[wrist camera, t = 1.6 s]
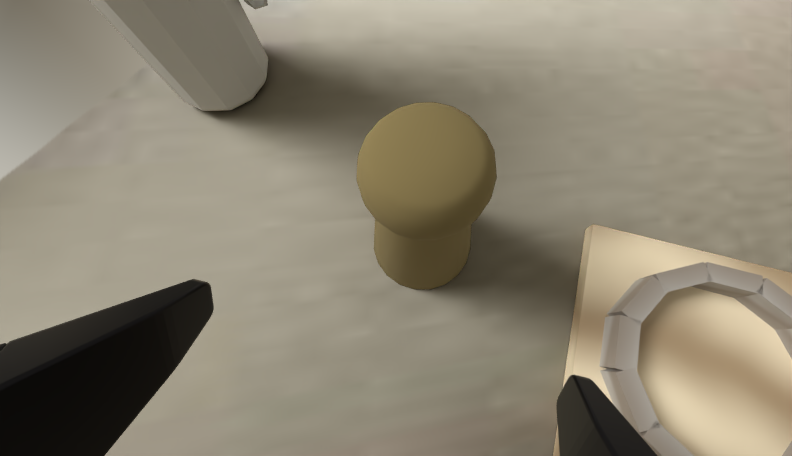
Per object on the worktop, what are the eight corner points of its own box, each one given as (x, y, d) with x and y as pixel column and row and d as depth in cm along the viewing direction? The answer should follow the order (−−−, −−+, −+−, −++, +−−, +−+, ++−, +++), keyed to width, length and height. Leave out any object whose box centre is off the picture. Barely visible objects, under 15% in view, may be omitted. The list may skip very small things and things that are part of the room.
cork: (474, 203, 23) (524, 82, 12) (465, 297, 21) (514, 247, 10) (382, 191, 23) (356, 66, 13) (365, 281, 22) (318, 219, 11)
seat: (841, 561, 16) (914, 598, 14) (551, 462, 18) (572, 479, 16) (822, 288, 20) (877, 280, 18) (585, 229, 22) (606, 215, 19)
